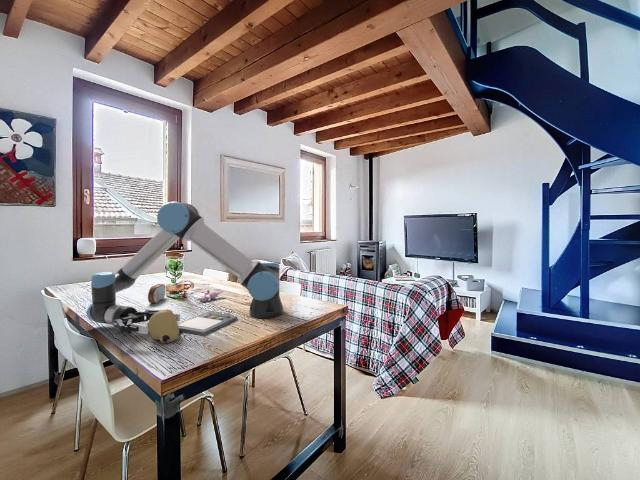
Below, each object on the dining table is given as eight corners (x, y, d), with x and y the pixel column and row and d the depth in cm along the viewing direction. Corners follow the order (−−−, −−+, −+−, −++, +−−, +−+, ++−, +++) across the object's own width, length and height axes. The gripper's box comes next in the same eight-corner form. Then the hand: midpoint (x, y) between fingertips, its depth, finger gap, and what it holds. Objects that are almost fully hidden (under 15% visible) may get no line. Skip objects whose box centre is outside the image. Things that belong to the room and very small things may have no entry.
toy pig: (153, 354, 106) (165, 339, 101) (138, 324, 109) (150, 308, 105) (179, 343, 115) (192, 329, 110) (164, 316, 118) (176, 301, 113)
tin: (160, 297, 167) (160, 282, 167) (167, 297, 167) (166, 282, 167) (147, 305, 152) (146, 288, 152) (154, 305, 152) (153, 288, 152)
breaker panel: (237, 319, 132) (237, 312, 132) (203, 335, 114) (203, 327, 114) (207, 314, 138) (207, 308, 138) (170, 329, 120) (170, 321, 119)
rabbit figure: (202, 306, 156) (227, 295, 168) (200, 295, 155) (225, 285, 167) (195, 304, 160) (219, 293, 172) (193, 293, 159) (218, 283, 170)
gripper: (151, 316, 129) (191, 322, 121) (87, 337, 106) (131, 347, 98) (150, 298, 129) (190, 304, 121) (86, 315, 105) (130, 324, 98)
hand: (164, 323), depth 109 cm, fingers open, 13 cm apart
